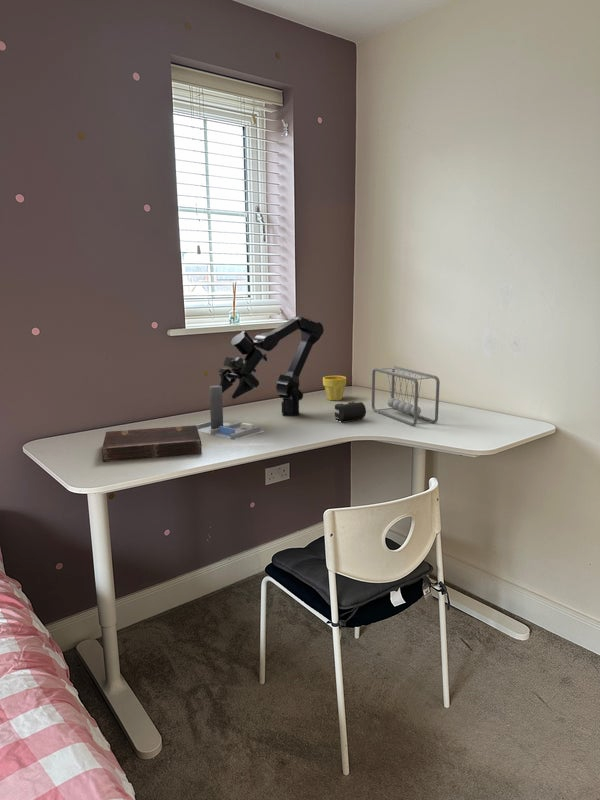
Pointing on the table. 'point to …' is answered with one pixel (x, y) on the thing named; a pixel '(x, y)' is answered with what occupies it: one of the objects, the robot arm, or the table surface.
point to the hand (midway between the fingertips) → (225, 396)
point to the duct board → (229, 430)
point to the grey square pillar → (216, 406)
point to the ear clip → (246, 425)
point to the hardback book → (151, 443)
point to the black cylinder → (350, 411)
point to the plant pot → (334, 387)
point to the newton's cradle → (403, 405)
